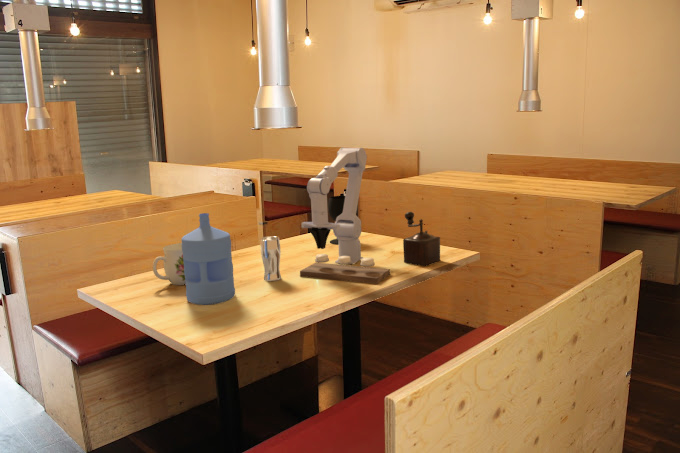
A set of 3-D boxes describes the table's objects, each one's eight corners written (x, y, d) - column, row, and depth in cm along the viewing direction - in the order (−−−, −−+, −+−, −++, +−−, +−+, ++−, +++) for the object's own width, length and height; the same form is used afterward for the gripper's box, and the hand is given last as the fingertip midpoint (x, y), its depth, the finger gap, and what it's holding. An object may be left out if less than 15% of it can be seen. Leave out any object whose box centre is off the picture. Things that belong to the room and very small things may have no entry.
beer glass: (279, 282, 216) (276, 240, 213) (260, 281, 218) (257, 240, 215) (284, 276, 223) (282, 236, 220) (266, 276, 225) (263, 235, 221)
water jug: (193, 291, 210) (186, 210, 204) (239, 289, 209) (233, 208, 204) (180, 306, 195) (172, 219, 189) (230, 305, 194) (222, 218, 188)
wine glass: (327, 244, 269) (325, 199, 264) (331, 239, 279) (330, 195, 274) (351, 244, 267) (349, 199, 263) (354, 239, 277) (353, 195, 273)
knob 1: (319, 258, 227) (318, 253, 227) (331, 259, 225) (331, 254, 225) (312, 262, 223) (312, 256, 222) (325, 263, 221) (324, 257, 220)
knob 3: (363, 262, 219) (363, 256, 219) (376, 263, 217) (376, 258, 217) (358, 266, 215) (357, 260, 215) (371, 267, 213) (371, 261, 212)
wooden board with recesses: (315, 267, 233) (315, 262, 232) (390, 274, 220) (389, 269, 219) (300, 276, 222) (299, 270, 222) (377, 284, 209) (377, 278, 209)
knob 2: (341, 260, 223) (340, 255, 223) (353, 261, 221) (353, 256, 221) (335, 263, 219) (334, 258, 219) (347, 265, 217) (347, 259, 216)
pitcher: (148, 285, 219) (144, 248, 216) (193, 274, 230) (190, 239, 227) (162, 292, 211) (158, 253, 208) (208, 280, 222) (205, 243, 219)
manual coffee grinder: (442, 260, 236) (441, 214, 232) (425, 266, 228) (424, 219, 224) (409, 254, 246) (408, 210, 242) (392, 260, 238) (391, 215, 234)
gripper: (296, 212, 220) (298, 249, 223) (332, 214, 214) (334, 252, 216) (305, 209, 226) (307, 244, 229) (341, 210, 220) (343, 247, 223)
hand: (321, 248), depth 223 cm, fingers closed
